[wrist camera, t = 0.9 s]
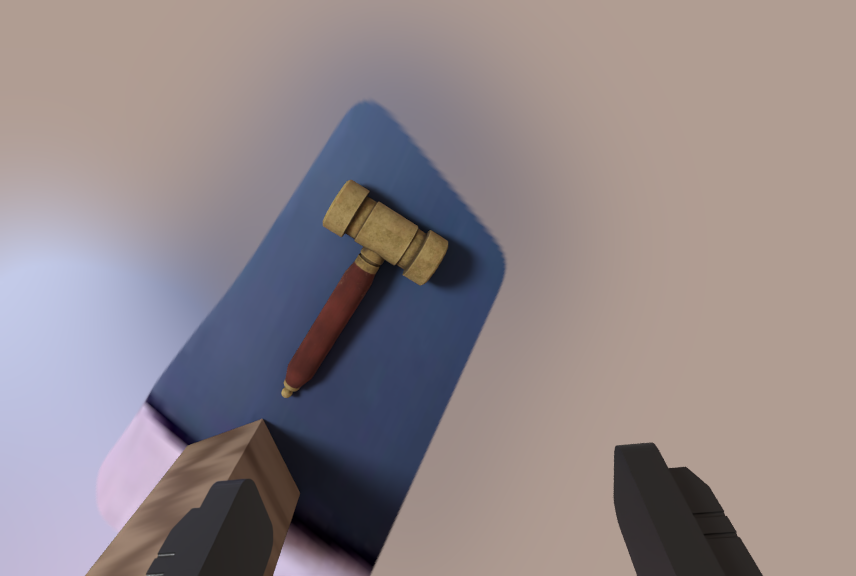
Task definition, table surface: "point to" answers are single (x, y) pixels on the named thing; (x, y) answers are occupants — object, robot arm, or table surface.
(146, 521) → the teal-capped wooden post
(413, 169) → the table surface
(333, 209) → the gavel
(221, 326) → the table surface
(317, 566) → the table surface
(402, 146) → the table surface
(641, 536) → the robot arm
